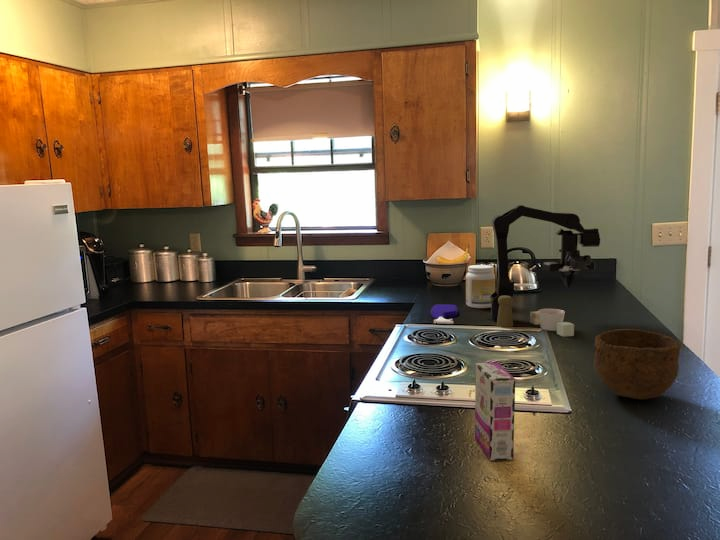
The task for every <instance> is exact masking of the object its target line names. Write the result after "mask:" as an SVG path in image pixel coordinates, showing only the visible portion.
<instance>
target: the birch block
mask: <svg viewBox="0 0 720 540" xmlns="http://www.w3.org/2000/svg"><path fill="white" fill-rule="evenodd" d="M529 322H530V323H531V324H533V325H540V319H539V313H538V310H537V311H530V312H529Z"/></svg>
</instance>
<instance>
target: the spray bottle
mask: <svg viewBox="0 0 720 540" xmlns="http://www.w3.org/2000/svg"><path fill="white" fill-rule="evenodd" d="M458 315H459V309H458V306H457V305H455V304H450V303H449V304H443V303H442V304H441V303H440V304H439V303H437V304H434V305H433V306H432V307H431V310H430V316H431V318H433V324H436V323H437V324H438V325H441V324H442V325H453V324H454V321H453V318H455V317H457V316H458ZM447 318H448V319H447Z"/></svg>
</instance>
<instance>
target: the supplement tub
mask: <svg viewBox="0 0 720 540" xmlns="http://www.w3.org/2000/svg"><path fill="white" fill-rule="evenodd" d="M467 271H468V272H466V275H465V305H466V306H467V307H469V308H474V309H488V308H491V302H492V301H491V298H490V296H491V295H492V294H493V293H494V292H495V291H496V274H495V273H494V272H493V271H494V266H493V265H489V264H474V265H468V266H467Z"/></svg>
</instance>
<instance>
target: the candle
mask: <svg viewBox="0 0 720 540" xmlns="http://www.w3.org/2000/svg"><path fill="white" fill-rule="evenodd" d="M537 311H538V313H539V319H540V324H539V325H540V329H542V330H543V331H550V332H551V331H552V332H557V323H559V322H564V318H565V313H566V312H565V310H562V309H557V308H541V309H538V310H537Z"/></svg>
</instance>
